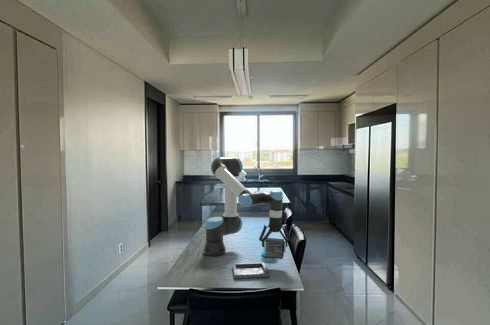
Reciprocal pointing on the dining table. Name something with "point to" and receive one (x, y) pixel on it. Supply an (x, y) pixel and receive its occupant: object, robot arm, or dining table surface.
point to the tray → (250, 270)
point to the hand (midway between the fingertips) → (274, 252)
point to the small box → (274, 248)
